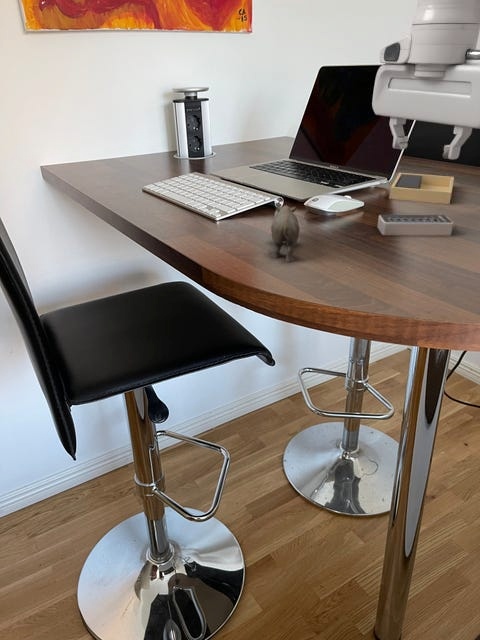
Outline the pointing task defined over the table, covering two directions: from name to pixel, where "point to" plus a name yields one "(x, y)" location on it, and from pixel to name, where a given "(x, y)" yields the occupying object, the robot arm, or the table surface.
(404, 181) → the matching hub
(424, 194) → the tray
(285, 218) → the rhino figurine
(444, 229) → the multiport hub
